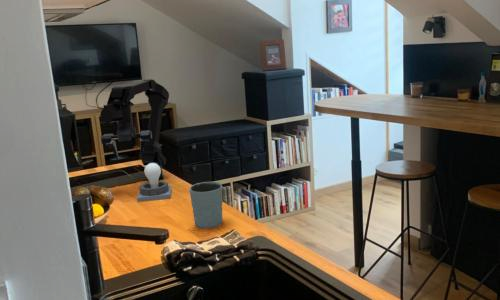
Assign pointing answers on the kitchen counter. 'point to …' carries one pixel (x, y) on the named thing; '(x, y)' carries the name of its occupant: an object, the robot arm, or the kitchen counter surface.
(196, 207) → the blue-grey cup
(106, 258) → the kitchen counter surface
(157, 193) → the bulb holder
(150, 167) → the lightbulb
